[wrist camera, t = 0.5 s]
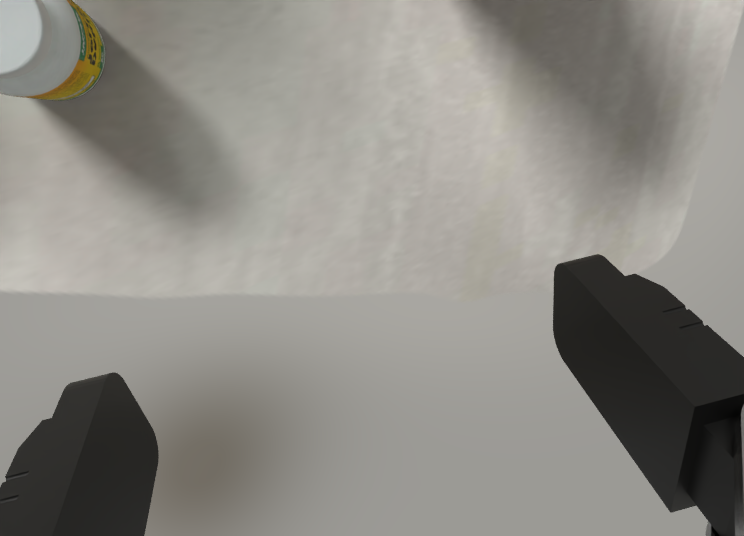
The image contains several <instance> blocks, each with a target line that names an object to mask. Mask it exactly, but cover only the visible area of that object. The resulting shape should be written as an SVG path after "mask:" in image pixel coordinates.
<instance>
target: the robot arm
mask: <svg viewBox="0 0 744 536" xmlns="http://www.w3.org/2000/svg"><path fill="white" fill-rule="evenodd" d="M553 310H554V311H553V331H554V338H555V342H556V345H557V348H558V351H559V353H560V355H561V357H562V359H563V361H564V362H565V363H566V365H567V366H568V368H569V369H570V371H571V372H572V373H573V375H574V376H575V378H576V379H577V381H578V382H579V383H580V385H581V386H582V388H583V389H584V390H585V392H586V393H587V395H588V396H589V397H590V399H591V400H592V402H593V403H594V405H595V406H596V407H597V409H598V410H599V412H600V413H601V414H602V416H603V417H604V419H605V420H606V422H607V423H608V424H609V426H610V427H611V429H612V430H613V432H614V433H615V434H616V436H617V437H618V439H619V440H620V442H621V443H622V444H623V446H624V447H625V449H626V450H627V451H628V453H629V454H630V456H631V457H632V459H633V460H634V461H635V463H636V464H637V465H638V467H639V468H640V470H641V471H642V473H643V474H644V476H645V477H646V478H647V480H648V481H649V483H650V484H651V485H652V487H653V488H654V490H655V491H656V493H657V494H658V495H659V497H660V498H661V499H662V501H663V502H664V504H665V505H666V507H667V508H668V510H669V511H670V512H675V511H678V510H682V509H685V508H689V507H692V506H696V505H697V507H698V508H699V509H700V511H701V512H702V513H703V514H704V516H705V517H706V519H707V520H708V524H707V528H706V536H744V357H743V356H742V355H740V354H739V353H738V352H737V351H736V350H735V349H734V348H733V347H731V346H730V345H729V344H728V343H727V342H726V341H724V340H723V339H722V338H721V337H720V336H719V335H718V334H717V333H716V332H714V331H713V330H712V329H711V328H710V327H709V326H708V325H706V326H704V325H703V321H702V320H700V319H699V317H697V316H696V315H695V314H694V313H693V312H692V311H691V310H689V309H688V310H686V308H685V305H684V304H683V303H682V302H680V301H679V300H678V299H677V298H676V297H675V296H674V295H672V294H671V293H670V292H669V291H668V290H667V289H666V288H664V287H663V286H661V285H658V284H656V283H654V282H652V281H650V280H648V279H645V278H643V277H641V276H639V275H637V274H632V275H628V276H624V275H623V274H622V273H621V272H620V271H619V270H618V269H617V268H616V267H615V266H613V265H612V264H611V263H610V262H609V261H608V260H607V259H606V258H605V257H604V256H602V255H599V254H597V255H592V256H588V257H584V258H580V259H576V260H572V261H568V262H564V263H560V264H558V265H557V266H556V268H555V271H554V307H553ZM157 466H158V445H157V441H156V436H155V433H154V431H153V429H152V427H151V425H150V423H149V422H148V420H147V418H146V417H145V415H144V413H143V412H142V410H141V408H140V406H139V405H138V403H137V402H136V400H135V398H134V396H133V395H132V393H131V391H130V390H129V388H128V386H127V384H126V383H125V382H124V380H123V378H122V377H121V376H120V375H119V374H117V373H109V374H105V375H101V376H98V377H94V378H89V379H85V380H81V381H77V382H73V383H70V384H68V385H67V386H66V387H65V389H64V391H63V393H62V395H61V398H60V400H59V402H58V405H57V407H56V409H55V412H54V414H53V417H52V418H50V419H46V420H42V421H41V423H40V424H39V425H38V426H37V427H36V428H35V430H34V431H33V432H32V433H31V434H30V435H29V437H28V438H27V439H26V440H25V441H24V442H23V444H22V445H21V446H20V447H19V448H18V451H17V453H16V455H15V457H14V459H13V462H12V463H11V466H10V468H9V470H8V472H7V474H6V476H5V477H6V482H4V483H2V485H1V487H0V536H144V534H145V529H146V523H147V518H148V513H149V508H150V503H151V497H152V492H153V487H154V481H155V476H156V471H157Z"/></svg>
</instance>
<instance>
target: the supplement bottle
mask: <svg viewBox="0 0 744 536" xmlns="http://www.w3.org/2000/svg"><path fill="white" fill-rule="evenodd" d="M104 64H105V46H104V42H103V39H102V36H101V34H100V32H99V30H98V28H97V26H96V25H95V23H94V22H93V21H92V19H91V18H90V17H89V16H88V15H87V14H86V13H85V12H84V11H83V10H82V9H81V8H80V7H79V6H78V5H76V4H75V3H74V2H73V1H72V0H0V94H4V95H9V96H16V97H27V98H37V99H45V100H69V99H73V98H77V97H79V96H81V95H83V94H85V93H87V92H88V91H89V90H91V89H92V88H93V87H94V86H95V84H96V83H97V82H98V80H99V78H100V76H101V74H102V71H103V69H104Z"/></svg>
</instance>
